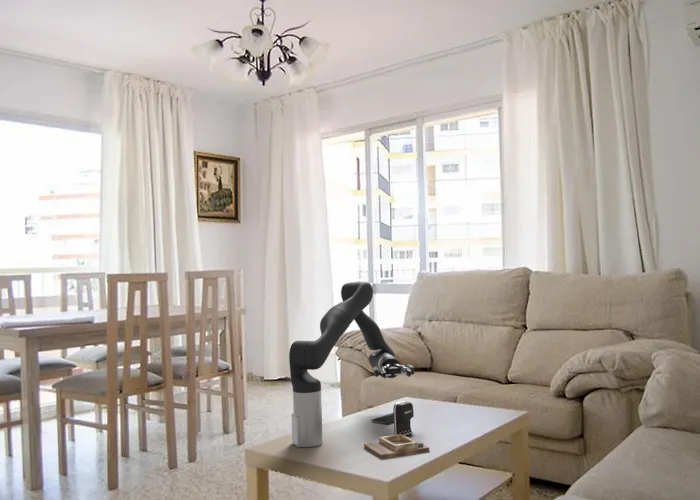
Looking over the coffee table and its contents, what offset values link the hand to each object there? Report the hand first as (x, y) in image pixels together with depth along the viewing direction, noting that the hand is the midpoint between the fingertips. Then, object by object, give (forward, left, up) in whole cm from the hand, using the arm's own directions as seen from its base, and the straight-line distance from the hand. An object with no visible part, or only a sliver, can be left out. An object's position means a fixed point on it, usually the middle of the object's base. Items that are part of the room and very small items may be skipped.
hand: (397, 374), depth 219 cm
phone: (+4, +14, -19) cm, 24 cm away
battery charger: (-3, -10, -19) cm, 22 cm away
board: (-12, -22, -19) cm, 31 cm away
